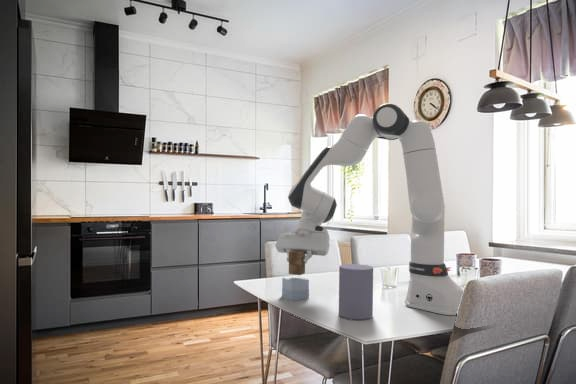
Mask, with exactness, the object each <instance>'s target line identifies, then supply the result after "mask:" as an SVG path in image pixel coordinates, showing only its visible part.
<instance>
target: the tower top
mask: <svg viewBox="0 0 576 384" xmlns="http://www.w3.org/2000/svg"><path fill="white" fill-rule="evenodd" d="M281 279H282V282H281V283H282V285H281V287H283V288H285V289H287V290H290V291H299V290H308V289H309V290H310V288H309V287H310V284H309V283H310V280H309V279H308V278H305V277H303V276H301V275H296V276H288V277H287V276H286V277H282V278H281Z"/></svg>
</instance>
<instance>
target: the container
mask: <svg viewBox="0 0 576 384" xmlns="http://www.w3.org/2000/svg"><path fill="white" fill-rule="evenodd" d="M338 267H339V268H338V270H339V271H338V273H339V274H338V316H340V317H341V318H343V319H345V318H346V319H345V320H350V319H352V320H354V321H365V320H364V319H366V320H369V319H371V318H373V309H374V307H373V305H374V302H373V301H374V267H373V266H371V265H368V264H357V263H356V264H355V263H347V264H345V263H344V264H340V265H338ZM352 320H351V321H352Z"/></svg>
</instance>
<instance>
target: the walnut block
mask: <svg viewBox="0 0 576 384" xmlns="http://www.w3.org/2000/svg"><path fill="white" fill-rule="evenodd" d="M305 256H306V254H305V251H295V250H294V251H290V252H289V262H288V275H293V276H294V275H295V276H301V275H304V274H306V263H302V258H303V257H305Z"/></svg>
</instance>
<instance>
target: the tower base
mask: <svg viewBox="0 0 576 384" xmlns="http://www.w3.org/2000/svg"><path fill="white" fill-rule="evenodd" d="M281 287H282V286H281ZM281 297H283V298H286V299H287V300H291V301H298V300H299V301H300V300H304V299H309V298H310V288H309V289H308V290H299V291H290V290H287V289H285V288H283V287H282V288H281Z"/></svg>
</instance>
